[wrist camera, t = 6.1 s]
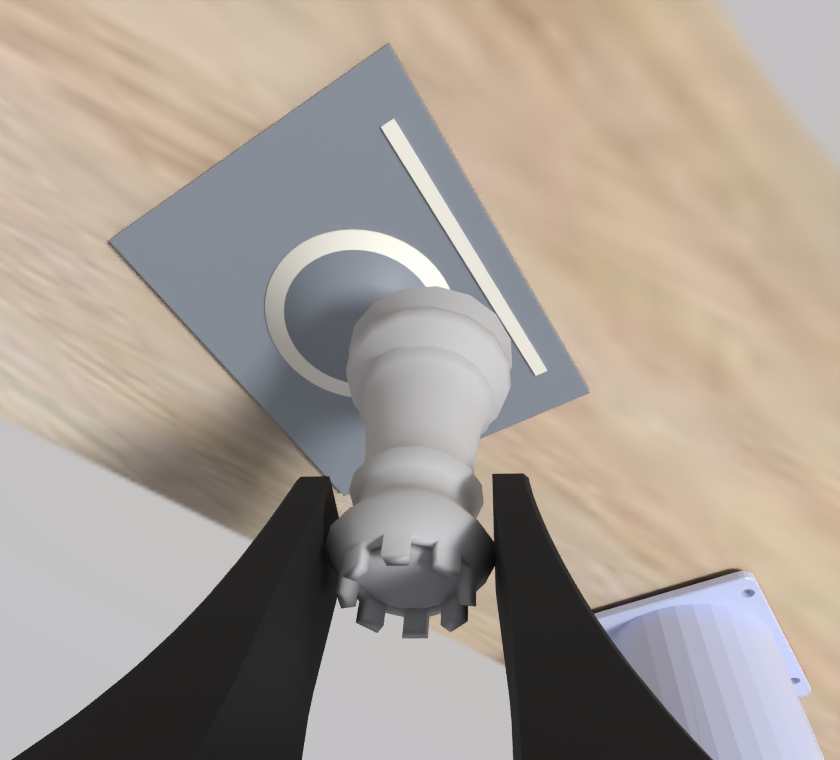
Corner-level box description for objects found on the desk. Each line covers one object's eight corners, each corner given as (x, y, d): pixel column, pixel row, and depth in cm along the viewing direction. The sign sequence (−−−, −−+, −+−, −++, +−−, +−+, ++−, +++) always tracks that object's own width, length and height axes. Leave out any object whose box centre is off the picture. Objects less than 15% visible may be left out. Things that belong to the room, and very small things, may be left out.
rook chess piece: (350, 403, 19) (288, 653, 13) (351, 268, 17) (272, 502, 10) (499, 417, 19) (511, 676, 13) (524, 284, 17) (553, 530, 10)
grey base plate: (587, 387, 21) (589, 394, 21) (345, 490, 25) (343, 497, 25) (388, 42, 16) (387, 45, 16) (112, 236, 20) (107, 241, 19)
